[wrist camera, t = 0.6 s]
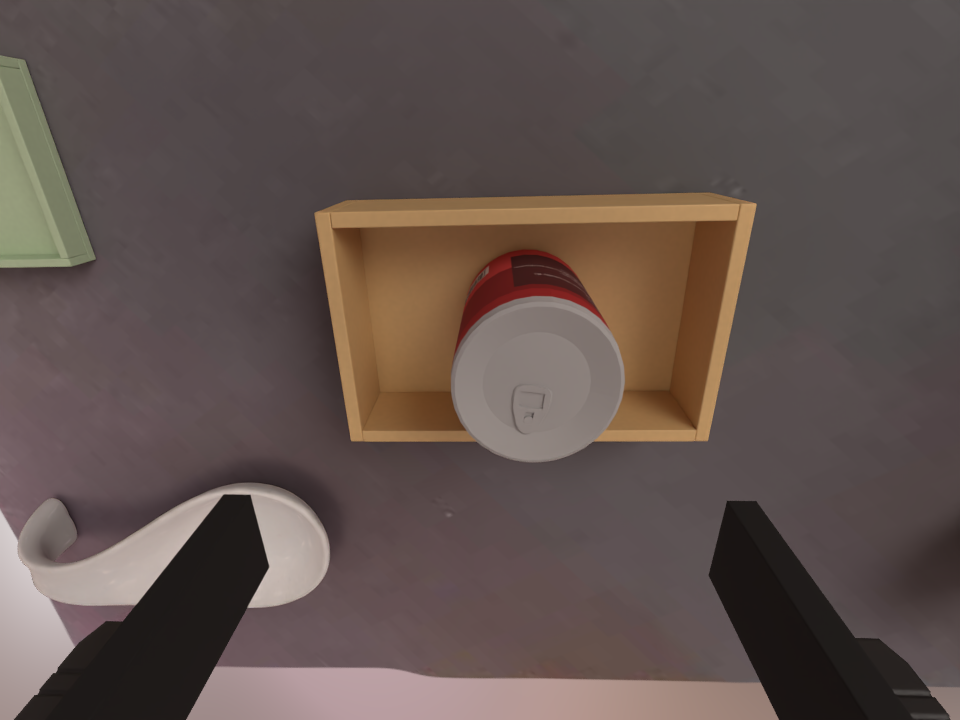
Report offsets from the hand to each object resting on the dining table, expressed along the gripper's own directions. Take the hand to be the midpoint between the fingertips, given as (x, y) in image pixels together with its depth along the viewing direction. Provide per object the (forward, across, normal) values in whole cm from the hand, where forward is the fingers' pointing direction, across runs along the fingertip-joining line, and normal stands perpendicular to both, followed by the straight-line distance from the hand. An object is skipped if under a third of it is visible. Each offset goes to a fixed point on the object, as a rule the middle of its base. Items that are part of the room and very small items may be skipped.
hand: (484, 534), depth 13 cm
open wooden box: (+20, +2, 0) cm, 20 cm away
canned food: (+19, +2, 0) cm, 19 cm away
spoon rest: (+20, -24, -18) cm, 36 cm away
